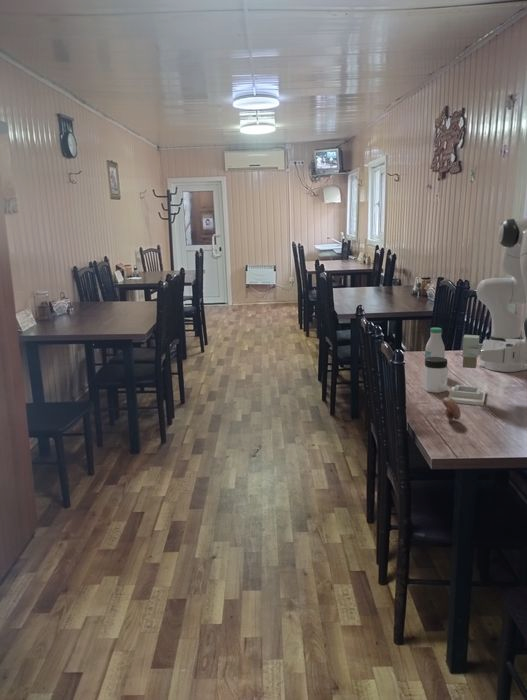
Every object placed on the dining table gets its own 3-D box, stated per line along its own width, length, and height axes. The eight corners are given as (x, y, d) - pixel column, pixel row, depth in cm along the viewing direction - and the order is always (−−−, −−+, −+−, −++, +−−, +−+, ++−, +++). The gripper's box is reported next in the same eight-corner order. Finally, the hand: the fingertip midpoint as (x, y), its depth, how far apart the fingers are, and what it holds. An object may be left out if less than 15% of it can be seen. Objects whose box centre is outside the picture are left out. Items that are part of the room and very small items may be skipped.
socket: (451, 389, 215) (452, 381, 214) (485, 392, 210) (486, 385, 210) (447, 401, 201) (447, 393, 200) (483, 405, 196) (484, 397, 195)
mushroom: (441, 416, 186) (443, 393, 184) (461, 418, 184) (463, 395, 182) (438, 423, 179) (440, 399, 178) (459, 426, 177) (460, 402, 175)
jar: (435, 394, 209) (436, 363, 207) (418, 389, 216) (419, 358, 213) (451, 390, 214) (452, 359, 212) (433, 385, 221) (435, 355, 218)
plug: (462, 364, 206) (464, 334, 204) (477, 365, 204) (479, 335, 202) (461, 367, 201) (463, 337, 199) (476, 368, 199) (478, 338, 197)
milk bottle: (444, 374, 236) (447, 327, 232) (442, 378, 229) (444, 330, 225) (425, 372, 239) (428, 326, 235) (422, 376, 233) (424, 329, 228)
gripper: (510, 336, 205) (470, 334, 210) (510, 348, 187) (466, 345, 192) (509, 353, 206) (469, 351, 212) (509, 366, 188) (465, 363, 193)
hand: (467, 348), depth 202 cm, fingers closed on plug, 5 cm apart
